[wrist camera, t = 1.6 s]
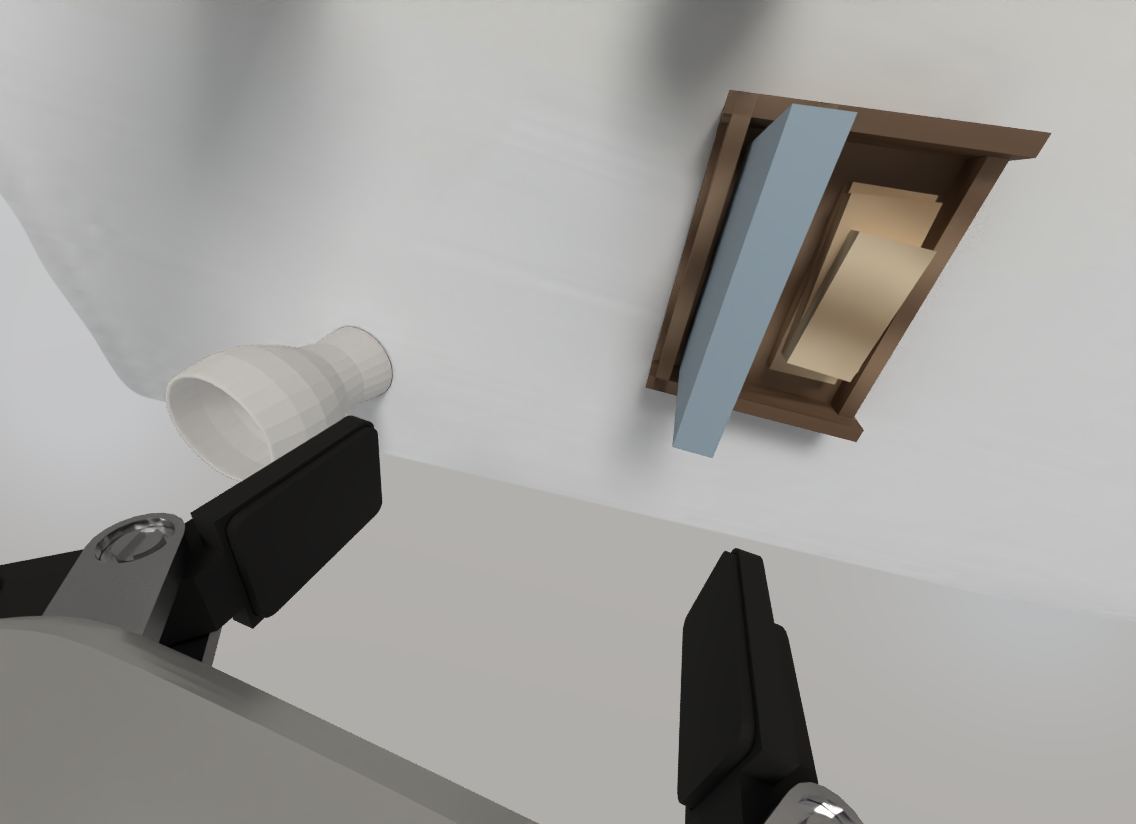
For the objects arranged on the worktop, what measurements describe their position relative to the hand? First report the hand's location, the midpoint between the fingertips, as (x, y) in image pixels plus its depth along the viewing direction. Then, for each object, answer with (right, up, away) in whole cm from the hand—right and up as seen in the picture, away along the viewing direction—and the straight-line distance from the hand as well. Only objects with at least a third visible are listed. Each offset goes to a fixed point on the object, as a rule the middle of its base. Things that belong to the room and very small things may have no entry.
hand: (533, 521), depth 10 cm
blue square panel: (+12, +13, +18) cm, 25 cm away
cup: (-21, +8, +33) cm, 40 cm away
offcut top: (+18, +9, +15) cm, 25 cm away
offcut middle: (+19, +11, +15) cm, 27 cm away
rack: (+17, +12, +18) cm, 28 cm away
